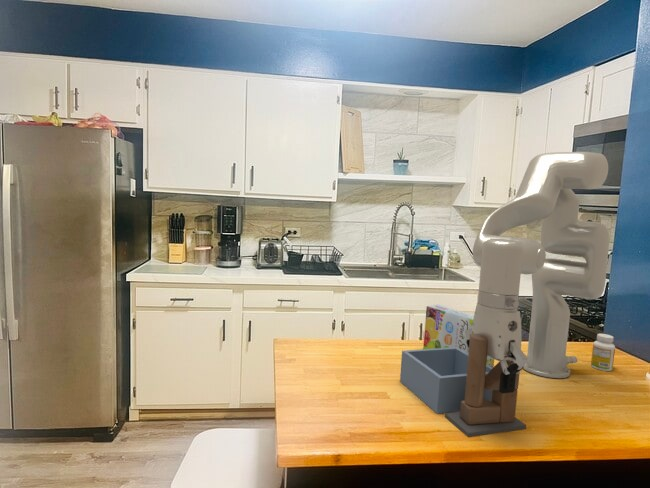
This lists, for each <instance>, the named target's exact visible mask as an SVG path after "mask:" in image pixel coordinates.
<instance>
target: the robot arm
mask: <svg viewBox="0 0 650 488" xmlns="http://www.w3.org/2000/svg"><path fill="white" fill-rule="evenodd" d="M608 174H609V162H608V160H607V158H606V156H605V155H604V154H603V153H599V152H592V151H590V152H589V151H565V152H564V151H561V152H559V151H557V152H545V153H540V154H537V155H535V156H534V157H532V158H531V160H530V161H529V163H528V165H527V167H526V170H525V173H524V175H523V177H522V180H521V182H520V185H519V187H518V189H517V192H516V194H515V197H514V198H513V199H511V200H509V201H508V202H506V203H504V204H502V205H501V206H500V207H498V208H496V210H494V211H492V212H491V213H490V214H489V215H488V216H487V217H486V218H485V219H484V221H483V222H482V224H481V226H480V229H479V231H478V233H477V236H476V238H475V241H474V244H473V247H472V259H473V262H474V263H475V265H477V266H478V267H480V274H479V281H478V282H479V284H478V296H477V303H476V306H475V309H474V314H473V315H474V318H473V324H472V328H471V329H468V330H466V331H465V334H466V338H467V345H468V348H469V342H470V335H471V334H480V335H482V336H484V337H486V338H487V339H488V346H487V355H488V356H490V357H492V358H494V360H496V361H498V362H499V361H500V364H501V367H502V369H503V373H501V375H500V386H499V392H501V393H511V392H514V390H515V380H516V374H518V373H519V371H520V372H521V371H522V370H524V371H526V372H529V373H530V374H534V375H536V376H538V377H539V376H540V377H545V378H551V379H566V378H569V377H570V375H571V370H570V368H569V367H568V365H570V364H576V363H578V358H577V356H576V355H575V356H574V355H571V356H570V355H569V356H568V355H566V354H567V345H568V344H567V343H568V338H569V337H568V336H569V327H570V318H571V311H570V307H569V305H568V303H567V301H566V300H565V298H564V297H563V296H567V297H574V298H579V299H580V298H581V299H586V300H597V299H599V298H600V297H601V296H602V295H603V293H604V291H605V286H606V279H607V270H608V259H609V248H610V233H609V230H608V227H607V226H606V225H605V224H604V223H601V222H598V221H587V220H579V208H580V201H579V198H578V196H577V195H576V193H575V192H574V191H573V190H594V189H598V188H600V187H602V185H604V183H605V182H606V180H607V177H608ZM538 221H541V229H540V230H541V231H540V242H539V241H538V240H535V239H533V238H527V237H515V236H505V235H503V234H504V233H505V232H507V231H509V230H512V229H514V228H517V227H521V226H525V225H529V224H532V223H536V222H538ZM546 253H549V254H553V255H560V256H561V255H562V256H569V257H576V258H577V257H578V258H583V259H585V261H576V260H575V261H574V260H570V259H562V258H561V259H560V258H552V257H551V258H550V257H549V258H548V257H546V256H547V255H546ZM521 275H531V282H532V299H531V302H532V303H531V313H530V323H529V324H530V325H529V334H528V335H529V336H528V344H527V351H526V353H527V355H526V354H525V353H524V351H523V350H522V319H521V312H520V311H518V307H519V306H520V302H519V294H520V285H521ZM468 353H469V349H468ZM504 356H507V357H504ZM508 361H509V363H510V366H509V367H508V365H507V362H508Z"/></svg>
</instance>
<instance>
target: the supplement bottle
mask: <svg viewBox="0 0 650 488" xmlns="http://www.w3.org/2000/svg"><path fill="white" fill-rule="evenodd" d="M591 352H592V353H591V360H590V366H591V367H592V368H593V369H596V370H598V371H603V372H611V371H613V368H614V360H615V353H616V346H615V344H614V336H612V335H611V334H606V333H597V335H596V340H595V341H594V342H593V344H592V351H591Z"/></svg>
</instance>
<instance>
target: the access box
mask: <svg viewBox="0 0 650 488" xmlns="http://www.w3.org/2000/svg"><path fill="white" fill-rule="evenodd" d="M400 362H401V364H400V378H399V382H400V383H401V384H402V385H403V386H405V387H406V388H407V389H408V390H410V392H411V393H413V394H414V396H416V397H417V398H418V399H419V400H420V401H421V402H422V403H423V404H425V405H426V406H427V407H428V408H430V409H431V410H432V411H433V412H434V413H435V414H436V415H438V414H439V415H440V414H445V413H452V412H460V407H461V401H465V389H466V377H467V365H468V353H466V352H464V351H463V350H461V349H459V348H457V347H451V348H436V349H423V348H422V349H410V350H409V349H408V350H407V349H406V350H402V351H401V361H400ZM492 369H493V367H491V366H489V365H487V364H486V374H485V376H486V375H487V374H488V373H489V372H490V371H491V370H492ZM492 392H493V390H489V391H488V390H487V389H485V388H484V396H483V400H487V401H490V402H492Z"/></svg>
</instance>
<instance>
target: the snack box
mask: <svg viewBox="0 0 650 488" xmlns="http://www.w3.org/2000/svg"><path fill="white" fill-rule="evenodd" d="M425 310H426V311H425V322H424V335H423V345H422V346H423V348H422V349H436V348H451V347H457V348H459V349H461V350H463V351H464V352H466V353H468V349H469V348H468V345H467V338H466V334H465V331H466V330H468V329H471V328H472V324H473V318H474V314H472V313H470V312H466V311H462V310H458V309H455V308H453V307H448V306H445V305H441V304H433V305H432V304H431V305H427V306H426V309H425ZM468 354H469V353H468ZM486 364H487V365H489V366H491V367H493V368H494V366H495V359H494V358H492V357H490V356H488V355H487V363H486Z"/></svg>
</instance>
